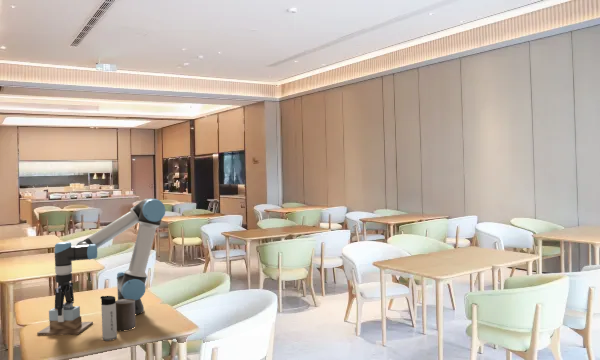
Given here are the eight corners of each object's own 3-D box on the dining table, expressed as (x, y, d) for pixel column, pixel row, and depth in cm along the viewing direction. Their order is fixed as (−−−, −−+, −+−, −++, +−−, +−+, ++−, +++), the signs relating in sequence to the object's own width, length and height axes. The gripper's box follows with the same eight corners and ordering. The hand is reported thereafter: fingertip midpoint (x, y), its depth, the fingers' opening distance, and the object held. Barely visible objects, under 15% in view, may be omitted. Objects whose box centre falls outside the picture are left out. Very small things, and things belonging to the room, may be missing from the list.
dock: (92, 323, 252) (92, 313, 252) (78, 334, 237) (77, 322, 236) (54, 324, 253) (54, 313, 253) (37, 335, 237) (36, 323, 237)
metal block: (72, 309, 246) (72, 302, 246) (69, 311, 243) (69, 304, 243) (65, 309, 246) (65, 302, 246) (62, 311, 243) (62, 304, 243)
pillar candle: (116, 332, 238) (115, 302, 237) (113, 327, 246) (113, 297, 246) (137, 329, 242) (136, 299, 242) (134, 324, 251) (133, 294, 250)
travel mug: (104, 336, 232) (102, 294, 232) (118, 336, 233) (117, 294, 232) (100, 341, 226) (98, 298, 225) (114, 340, 226) (113, 297, 226)
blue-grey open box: (80, 316, 248) (79, 306, 248) (72, 320, 241) (72, 310, 241) (57, 316, 248) (56, 306, 248) (49, 320, 241) (48, 310, 241)
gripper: (66, 269, 254) (67, 313, 255) (45, 278, 234) (46, 325, 235) (80, 269, 254) (81, 313, 254) (61, 277, 234) (62, 325, 234)
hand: (65, 319), depth 244 cm, fingers closed on blue-grey open box, 7 cm apart
